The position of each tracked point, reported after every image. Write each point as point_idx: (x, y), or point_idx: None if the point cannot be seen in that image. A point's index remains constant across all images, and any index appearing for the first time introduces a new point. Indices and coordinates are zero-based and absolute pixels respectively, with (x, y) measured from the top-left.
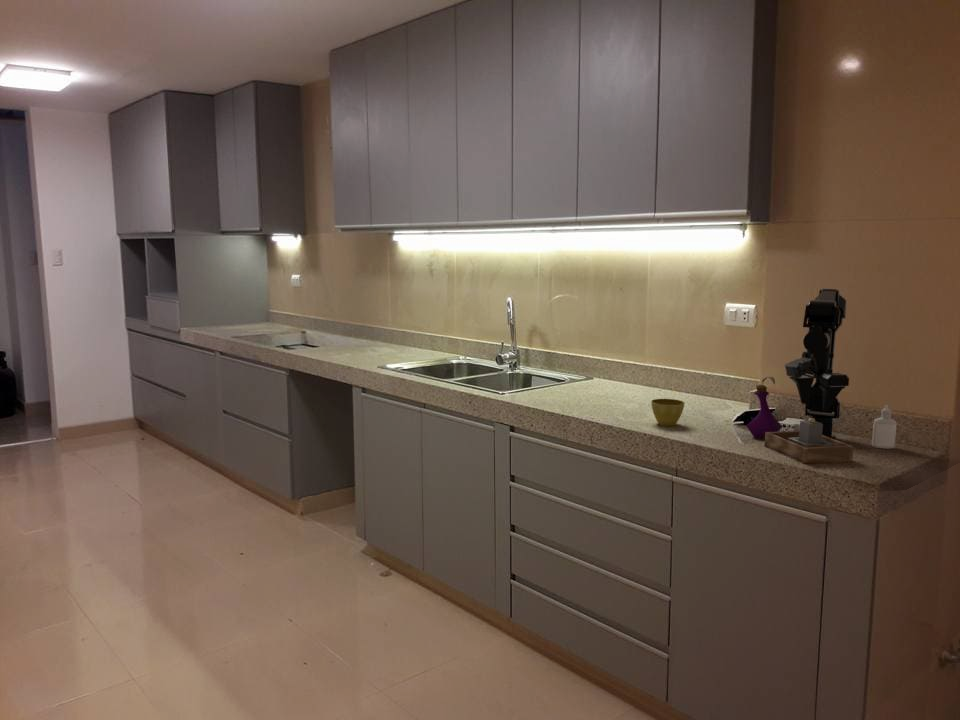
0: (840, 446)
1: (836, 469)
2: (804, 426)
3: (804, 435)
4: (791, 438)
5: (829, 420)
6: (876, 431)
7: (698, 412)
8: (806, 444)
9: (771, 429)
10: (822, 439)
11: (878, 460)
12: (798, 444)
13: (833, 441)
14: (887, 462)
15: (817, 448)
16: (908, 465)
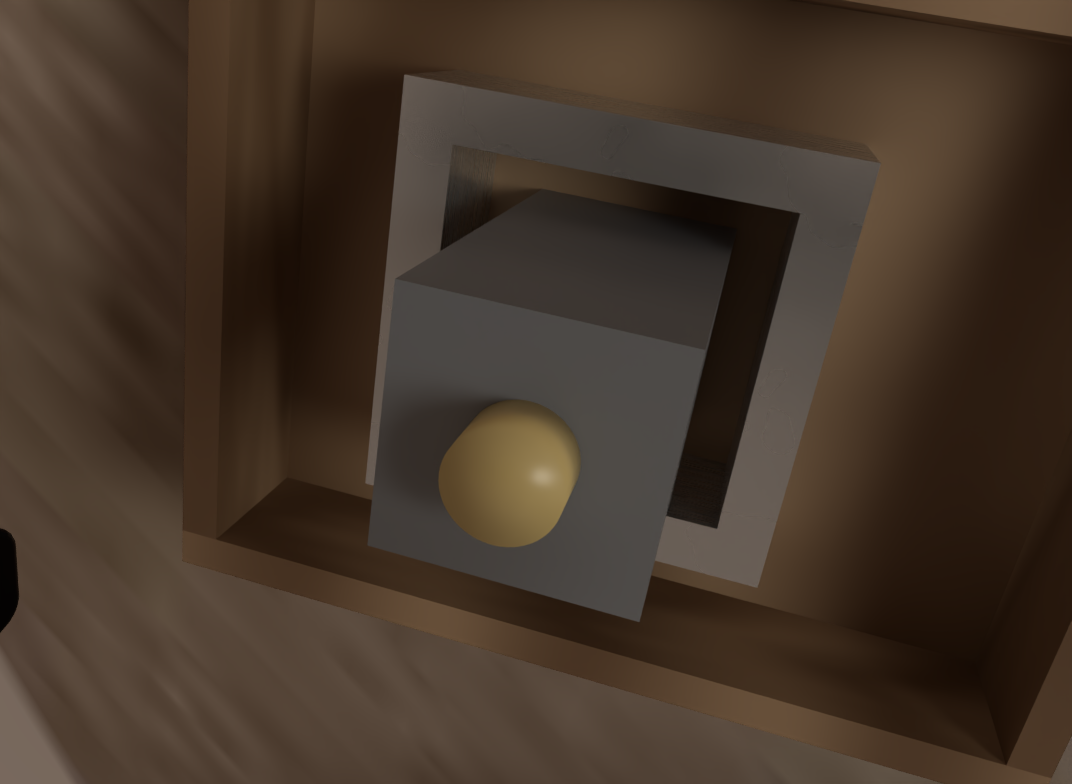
0: (209, 430)
1: (66, 90)
2: (561, 291)
3: (578, 253)
4: (813, 183)
5: None
6: None
7: None
8: (431, 111)
9: None
10: (701, 650)
11: (261, 718)
12: (590, 105)
13: (483, 605)
14: (196, 723)
15: (192, 67)
16: (100, 775)
